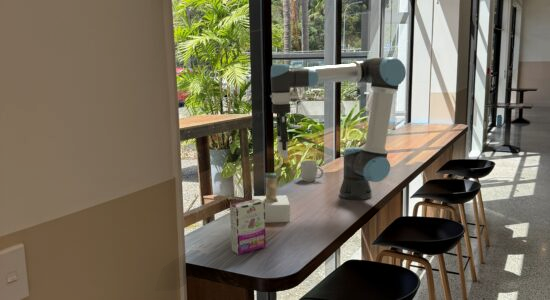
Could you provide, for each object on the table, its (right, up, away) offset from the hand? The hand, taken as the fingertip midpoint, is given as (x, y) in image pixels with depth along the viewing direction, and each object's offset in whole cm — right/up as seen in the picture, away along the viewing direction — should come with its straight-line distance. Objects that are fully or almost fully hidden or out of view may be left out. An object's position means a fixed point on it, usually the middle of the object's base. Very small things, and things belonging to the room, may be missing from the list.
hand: (282, 154), depth 201 cm
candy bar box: (-12, -32, -36) cm, 49 cm away
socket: (-5, -25, -1) cm, 26 cm away
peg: (-5, -25, -1) cm, 26 cm away
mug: (+17, -15, +61) cm, 65 cm away
